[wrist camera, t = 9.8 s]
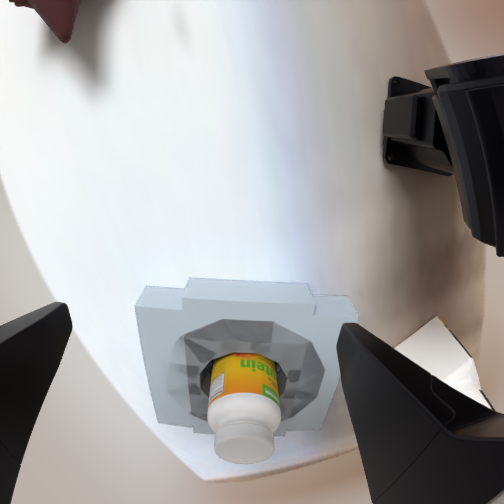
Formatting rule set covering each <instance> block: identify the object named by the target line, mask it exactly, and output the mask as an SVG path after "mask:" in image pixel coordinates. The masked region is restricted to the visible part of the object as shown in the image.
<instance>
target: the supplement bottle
mask: <svg viewBox="0 0 504 504" xmlns="http://www.w3.org/2000/svg"><path fill="white" fill-rule="evenodd" d="M207 419H208V424H209V426H210V427H211V429H212V430H213V431H214V432H215V433H216V434H215V446H214V449H215V453H216V454H217V455H218V456H219V457H220V458H222V459H223V460H226V461H228V462H232V463H238V464H252V463H257V462H261V461H264V460H266V459H267V458H269V457H270V456H271V455H272V454H273V452H274V437H273V433H274V432H275V431H276V430H277V428H278V426H279V424H280V421H281V409H280V401H279V392H278V384H277V374H276V365H275V361H273V360H271V359H269V358H267V357H265V356H263V355H260V354H258V353H237V352H232V353H229V354H227V355H224V356H221V357H218V358H215V359H214V361H213V368H212V377H211V385H210V394H209V403H208V413H207Z"/></svg>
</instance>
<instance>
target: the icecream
mask: <svg viewBox="0 0 504 504" xmlns="http://www.w3.org/2000/svg"><path fill="white" fill-rule="evenodd" d="M9 2H14V3H15V5H16V6H17V7H20V6H25V7H29V8H33V9H35V11H36V12H37V13H38V14H39V15H40V17H41V18H42V19H43V20H44V21H45V22H46V24H47V25H48V26H49V27H50V28H51V30H52V31H53V32H54V33H55V35H56V36H57V37H58V38H59V39H60V40H61V41H62V42H63V43H67V42H69V41H70V39H71V35H72V31H73V26H74V22H75V18H76V14H77V10H78V7H79V3H80V0H9Z"/></svg>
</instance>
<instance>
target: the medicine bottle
mask: <svg viewBox="0 0 504 504" xmlns="http://www.w3.org/2000/svg"><path fill="white" fill-rule="evenodd" d="M394 349H395V350H397V351H398V352H400V353H401V354H403V355H404V356H406V357H407V358H409V359H410V360H412V361H413V362H415V363H416V364H418V365H419V366H421V367H422V368H424V369H425V370H427V371H428V372H429V373H431V375H434V376H435V377H437V378H438V379H440V380H441V381H443V382H444V383H446V384H448V385H449V386H451V387H452V388H454V389H456V390H457V391H459V392H461V393H463V394H464V395H466V396H468V397H470V398H472V399H473V400H475V401H477V402H479V403H481V404H482V405H484V406H486V407H488V408H490V409H492V410H494V408H493V406H492V405H491V403H490V402H489V400H488V399H487V398H486V396H485V395H484V393H483V392H482V390H481V386H480V382H479V378H478V374H477V370H476V367H475V363H474V360H473V358H472V356H471V355H470V354H469V353H468V351H467V350H466V349H465V348H464V346H463V345H462V344H461V343H460V342H459V340H458V339H457V338H456V337H455V335H454V334H453V333H452V332H451V331H450V329H449V328H448V327H447V326H446V325H445V324H444V322H443V321H442V320H441V319H440V318H439V317H438V316H436V317H434V318H433V319H431V320H430V321H429V322H428V323H426V324H425V325H424V326H423V327H421V328H420V329H419V330H417V331H416V332H415V333H413V334H412V335H411V336H410V337H408V338H407V339H405V340H404V341H403V342H401V343H400V344H399V345H397V346H396V347H394ZM494 411H495V410H494Z"/></svg>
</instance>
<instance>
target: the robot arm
mask: <svg viewBox="0 0 504 504" xmlns="http://www.w3.org/2000/svg"><path fill="white" fill-rule="evenodd" d="M424 72H425V74H426V76H427V79H429V80H430V82H431V85H432V87H433V88H431V87H428V86H425V85H422V84H419V83H416V82H413V81H410V80H407V79H404V78H400V77H396V76H395V77H392V78H390V79H389V86H388V99H387V100H385V112H384V124H383V134H384V136H385V139H384V149H383V160H384V161H385V162H386V163H389V164H393V165H398V166H404V167H409V168H414V169H418V170H423V171H428V172H432V173H437V174H441V175H445V176H451V175H452V174H455V177H456V182H457V186H458V191H459V196H460V201H461V206H462V212H463V218H464V221H465V223H466V224H467V226H468V227H469V228H470V229H471V231H472V236H473V237H474V238H476V239H478V240H479V241H481V242H483V243H484V244H487V245H490V246H493V247H496V254H497V256H499V257H504V54H499V55H492V56H486V57H481V58H475V59H470V60H466V61H462V62H457V63H452V64H448V65H444V66H440V67H436V68H432V69H429V70H425V71H424ZM394 81H397V83H398V86H396V85H395V84H394ZM389 154H391V155H392V158H391V159H390V160H389V159H388V155H389ZM71 331H72V321H71V317H70V313H69V309H68V306H67V304H65V303H61V302H54V303H51V304H49V305H47V306H45V307H43V308H40V309H37V310H35V311H33V312H31V313H28V314H26V315H24V316H21V317H19V318H17V319H15V320H12V321H10V322H8V323H5V324H3V325H1V326H0V504H10V503H11V500H12V496H13V492H14V488H15V484H16V480H17V477H18V473H19V470H20V467H21V465H20V464H21V463H22V460H23V456H24V454H25V450H26V447H27V444H28V441H29V439H30V436H31V433H32V430H33V428H34V425H35V422H36V420H37V417H38V414H39V412H40V409H41V407H42V404H43V402H44V399H45V397H46V395H47V392H48V390H49V388H50V385H51V383H52V381H53V378H54V376H55V374H56V372H57V370H58V367H59V365H60V362H61V359H62V356H63V354H64V350H65V348H66V345H67V342H68V340H69V337H70V334H71ZM336 351H337V357H338V363H339V369H340V375H341V381H342V387H343V392H344V395H345V399H346V403H347V406H348V410H349V413H350V417H351V421H352V424H353V428H354V432H355V435H356V439H357V443H358V447H359V451H360V455H361V458H362V463H363V467H364V471H365V475H366V479H367V483H368V487H369V491H370V495H371V500H372V503H373V504H504V414H501V413H498V412H496V411H494V410H492V409H490V408H488V407H486V406H484V405H482V404H481V403H479V402H477V401H475V400H473V399H472V398H470V397H468V396H466V395H464V394H463V393H461V392H459V391H457V390H456V389H454V388H452V387H451V386H449V385H448V384H446V383H444V382H443V381H441V380H440V379H438V378H437V377H435V376H434V375H431V373H429V372H428V371H427V370H425V369H424V368H422V367H421V366H419V365H418V364H416V363H415V362H413V361H412V360H410V359H409V358H407V357H406V356H404V355H403V354H401V353H400V352H398V351H397V350H395V349H394V348H392V347H391V346H389V345H388V344H386V343H385V342H384V341H382V340H381V339H379V338H378V337H376V336H375V335H373V334H372V333H370V332H369V331H367V330H366V329H364V328H363V327H361V326H360V325H358V324H357V323H354V322H351V323H343V324H342V326H341V329H340V333H339V337H338V340H337V345H336Z"/></svg>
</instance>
